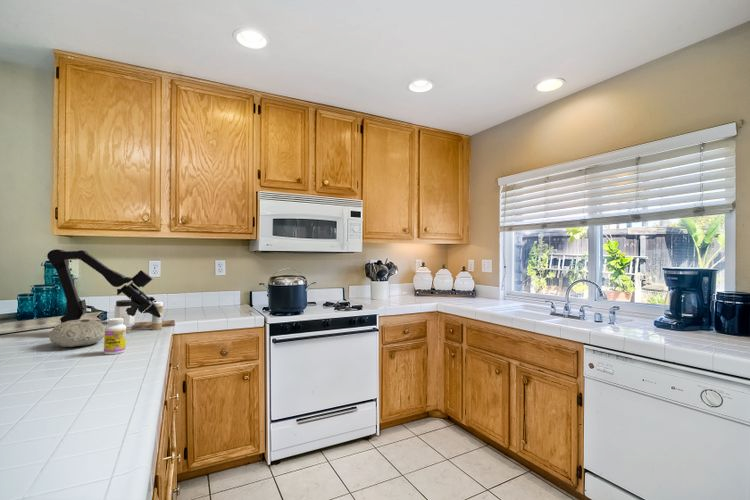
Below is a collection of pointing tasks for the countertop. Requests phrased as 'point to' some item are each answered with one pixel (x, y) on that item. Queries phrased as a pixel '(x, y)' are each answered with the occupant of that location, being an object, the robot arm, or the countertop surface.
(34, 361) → the countertop surface
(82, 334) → the grey rock
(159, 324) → the sprinkles bottle
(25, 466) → the countertop surface
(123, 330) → the supplement bottle
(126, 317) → the jar
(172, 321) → the board
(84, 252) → the robot arm
